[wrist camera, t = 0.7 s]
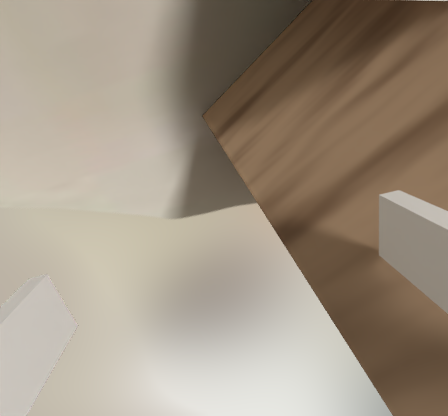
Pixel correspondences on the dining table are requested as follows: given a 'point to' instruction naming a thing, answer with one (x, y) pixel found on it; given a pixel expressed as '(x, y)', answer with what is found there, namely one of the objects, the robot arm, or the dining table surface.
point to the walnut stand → (352, 171)
